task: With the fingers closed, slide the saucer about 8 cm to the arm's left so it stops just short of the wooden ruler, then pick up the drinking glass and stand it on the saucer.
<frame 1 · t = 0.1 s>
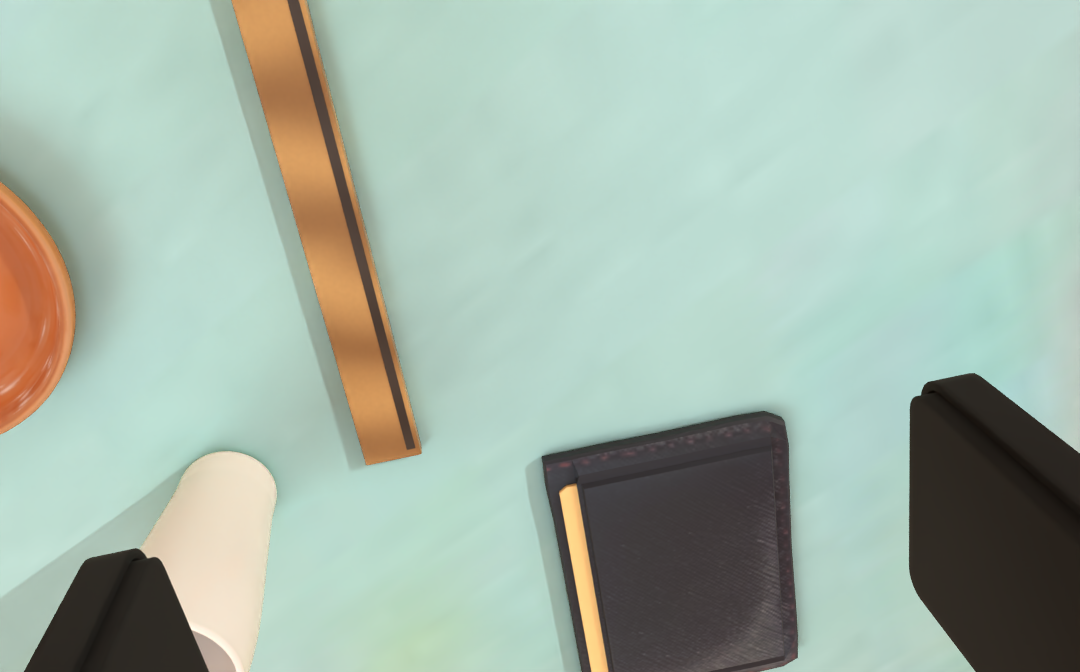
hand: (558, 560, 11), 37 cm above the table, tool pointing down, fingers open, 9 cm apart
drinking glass: (231, 484, 52), on the table
ruler: (326, 204, 46), on the table
wallet: (676, 559, 58), on the table
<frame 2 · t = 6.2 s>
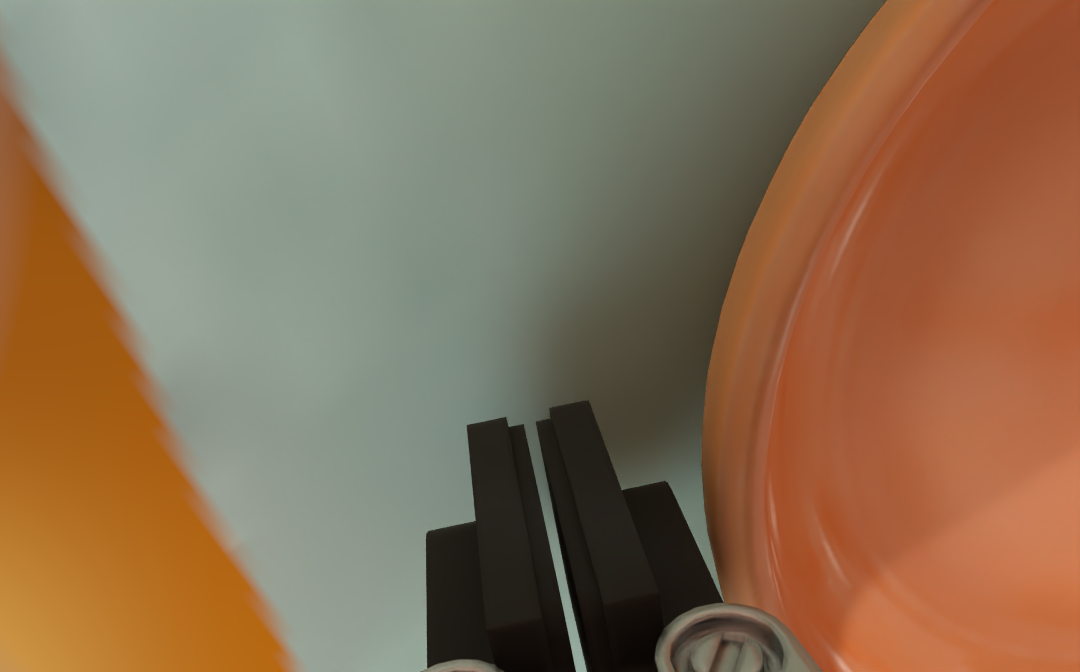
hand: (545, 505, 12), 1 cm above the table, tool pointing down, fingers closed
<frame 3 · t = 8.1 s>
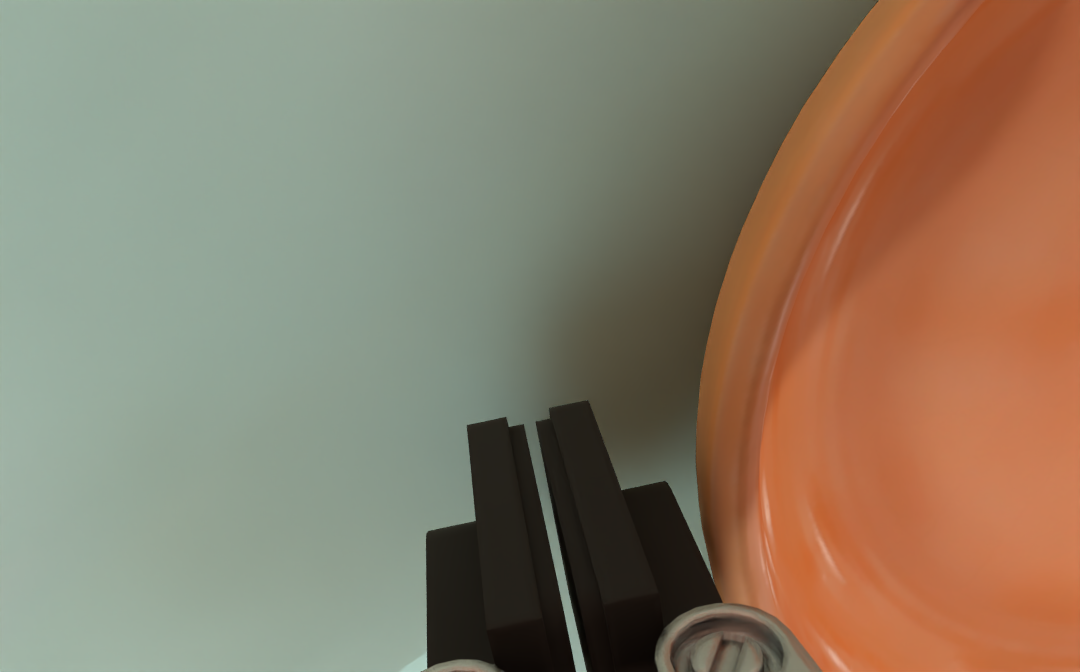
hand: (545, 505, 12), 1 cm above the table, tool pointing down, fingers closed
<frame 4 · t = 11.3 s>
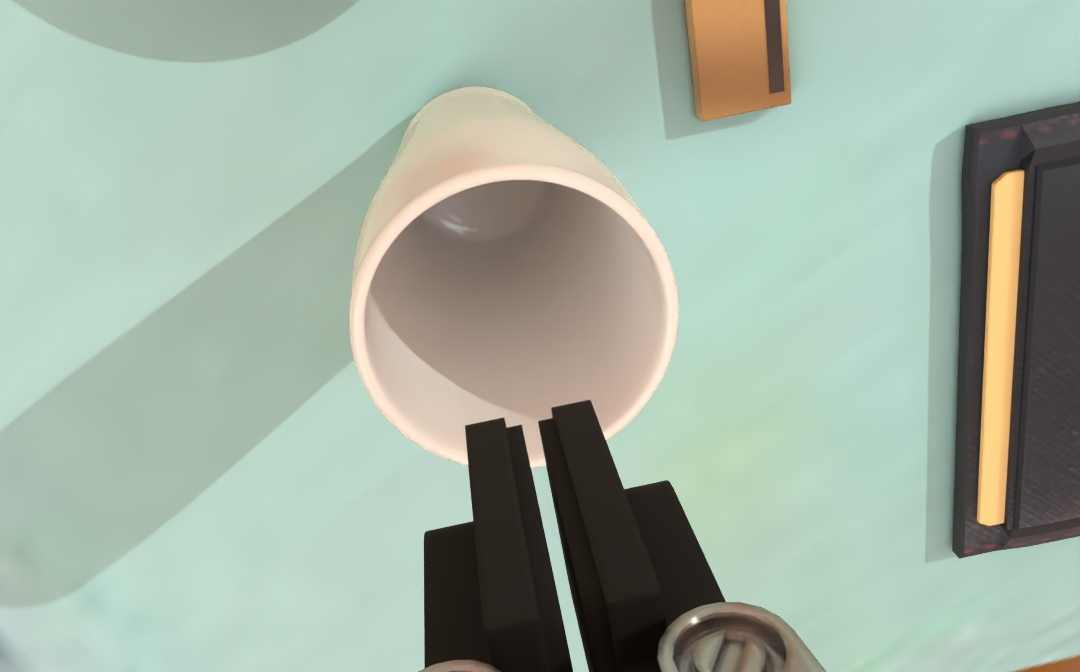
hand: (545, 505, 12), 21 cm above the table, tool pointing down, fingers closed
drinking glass: (475, 160, 32), on the table
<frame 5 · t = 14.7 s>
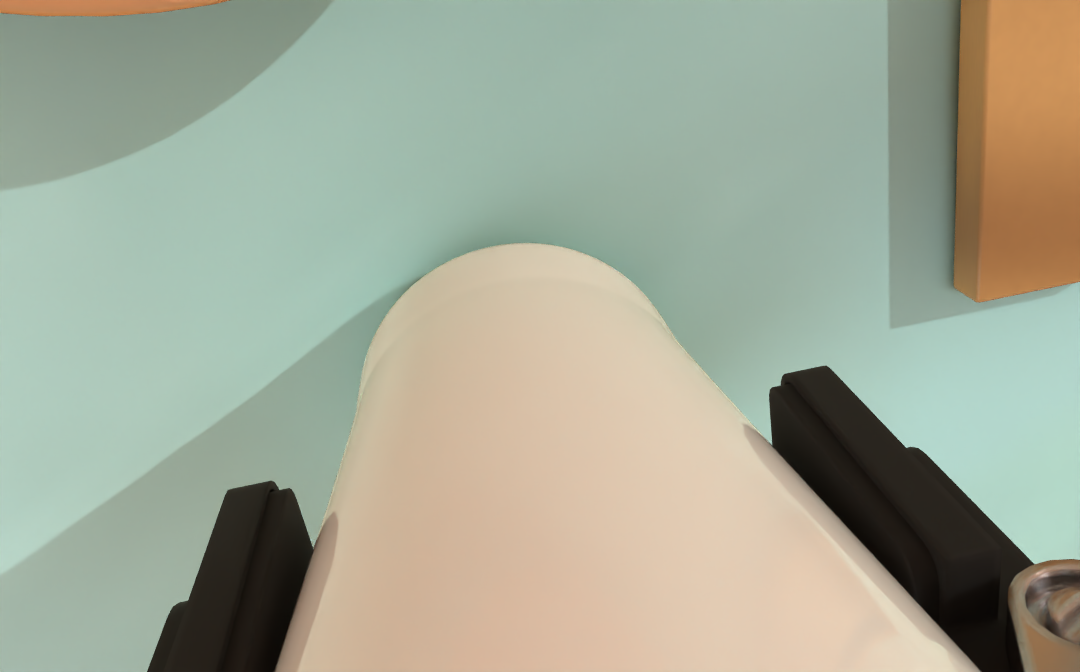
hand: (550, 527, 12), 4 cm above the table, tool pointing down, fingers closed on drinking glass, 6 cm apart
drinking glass: (516, 373, 16), on the table, touching gripper
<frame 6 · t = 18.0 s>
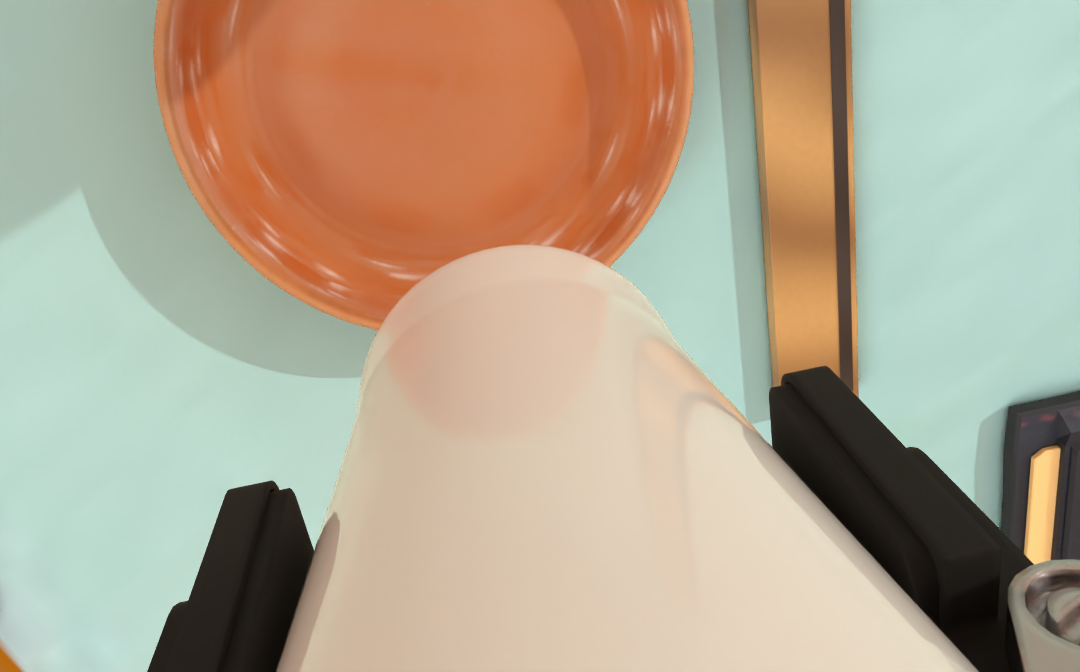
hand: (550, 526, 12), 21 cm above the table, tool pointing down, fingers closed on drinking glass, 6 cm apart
saucer: (433, 78, 30), on the table
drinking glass: (517, 374, 16), point 16 cm above the table, touching gripper
ruler: (794, 7, 30), on the table
when the fingers open (7 cm above the table, at t = 21.8 s): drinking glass stays where it is, resting on saucer.
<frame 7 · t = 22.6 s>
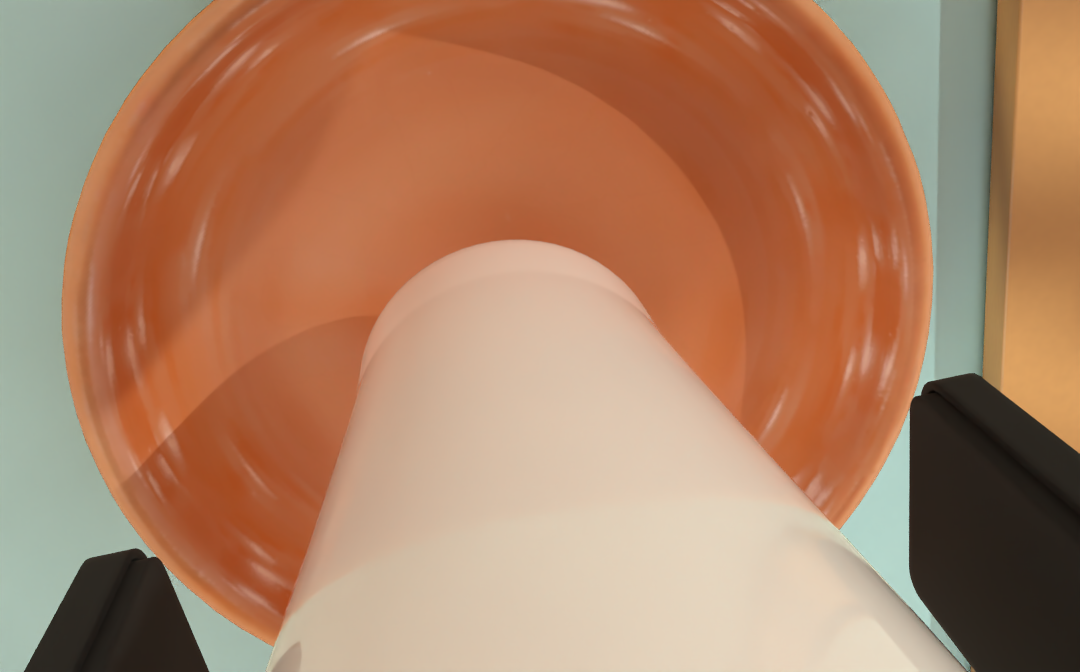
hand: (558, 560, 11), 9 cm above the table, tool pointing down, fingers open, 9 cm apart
saucer: (509, 308, 20), on the table, touching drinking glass
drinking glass: (509, 364, 17), point 3 cm above the table, touching saucer
ruler: (1057, 192, 20), on the table
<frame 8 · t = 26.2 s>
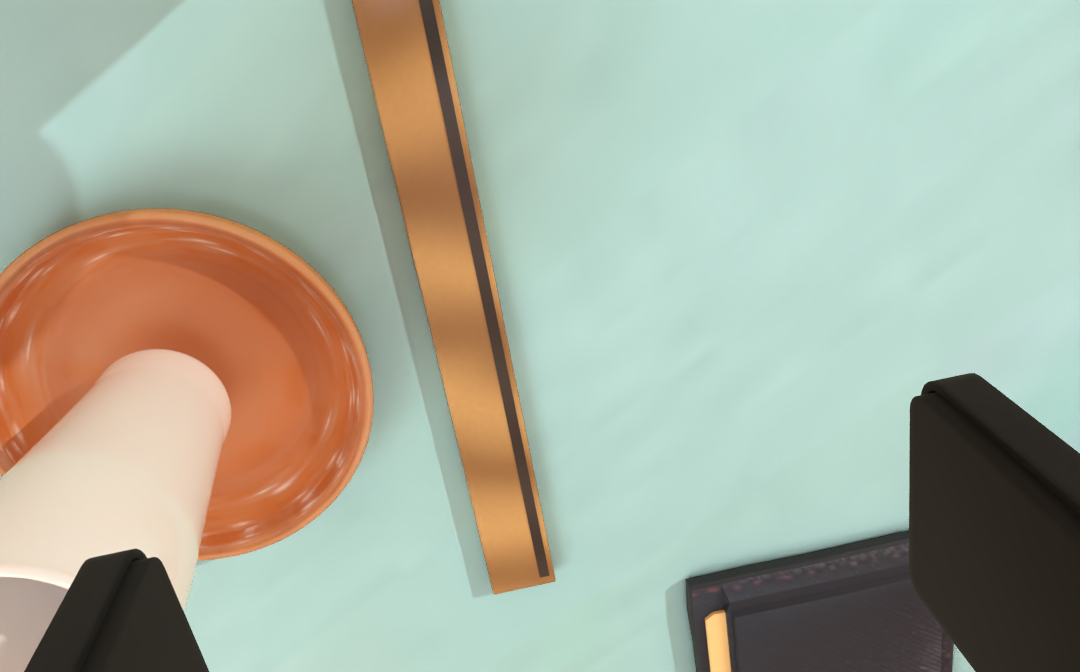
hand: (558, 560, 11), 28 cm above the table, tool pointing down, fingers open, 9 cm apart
saucer: (192, 370, 40), on the table, touching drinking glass
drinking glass: (167, 400, 37), point 3 cm above the table, touching saucer
ruler: (465, 312, 40), on the table
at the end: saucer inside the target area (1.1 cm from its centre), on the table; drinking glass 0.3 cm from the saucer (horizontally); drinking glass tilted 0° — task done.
